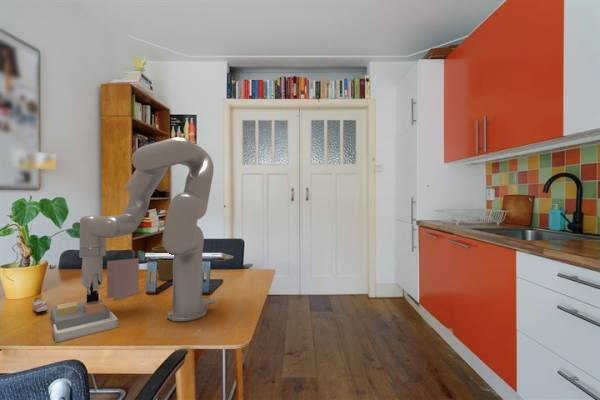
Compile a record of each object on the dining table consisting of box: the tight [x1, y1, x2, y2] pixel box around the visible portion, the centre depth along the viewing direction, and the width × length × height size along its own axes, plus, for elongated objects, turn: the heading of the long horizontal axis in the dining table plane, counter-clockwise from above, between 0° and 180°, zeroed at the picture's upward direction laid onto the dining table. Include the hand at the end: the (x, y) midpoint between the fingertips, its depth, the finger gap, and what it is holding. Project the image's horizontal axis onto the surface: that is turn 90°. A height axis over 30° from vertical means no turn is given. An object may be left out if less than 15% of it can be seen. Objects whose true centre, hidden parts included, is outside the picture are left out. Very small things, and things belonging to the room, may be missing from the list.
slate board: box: [50, 298, 111, 330], centre depth 100 cm, size 14×16×3 cm
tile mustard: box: [56, 301, 78, 317], centre depth 97 cm, size 5×5×2 cm
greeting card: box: [106, 257, 140, 302], centre depth 122 cm, size 11×7×15 cm, turn 125°
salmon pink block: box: [84, 299, 106, 315], centre depth 98 cm, size 5×5×2 cm
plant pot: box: [152, 245, 173, 282], centre depth 151 cm, size 15×15×16 cm
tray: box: [52, 311, 119, 344], centre depth 91 cm, size 15×9×2 cm, turn 134°
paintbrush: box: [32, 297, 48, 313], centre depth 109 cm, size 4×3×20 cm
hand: (92, 305), depth 101 cm, fingers closed
